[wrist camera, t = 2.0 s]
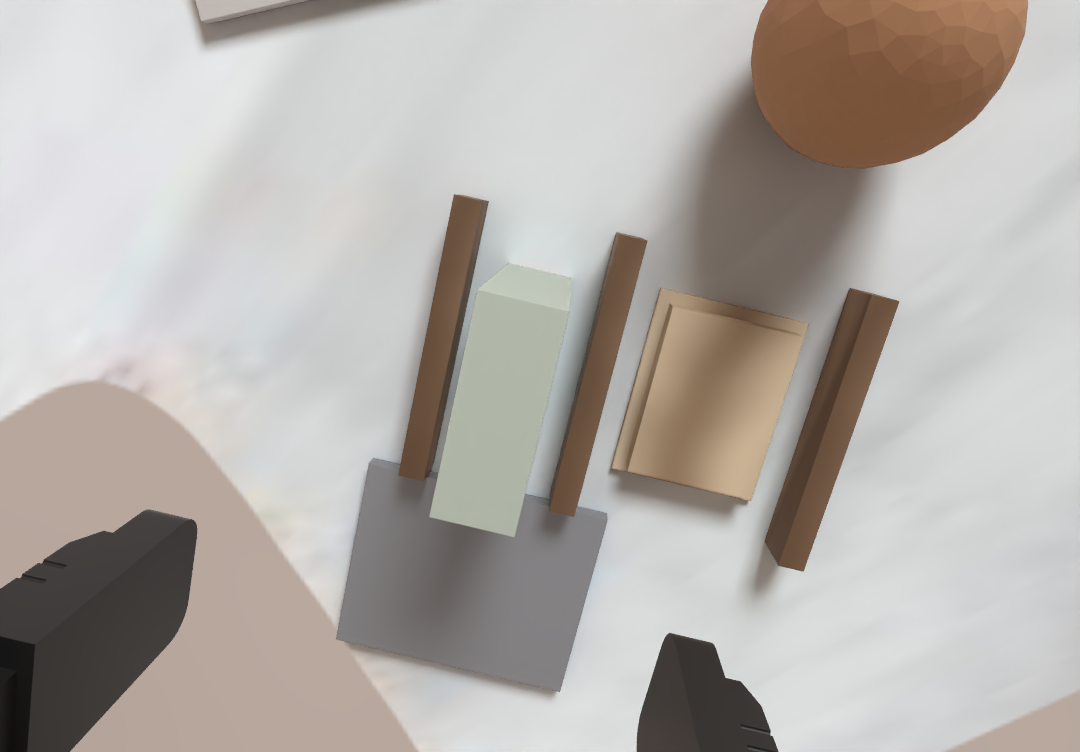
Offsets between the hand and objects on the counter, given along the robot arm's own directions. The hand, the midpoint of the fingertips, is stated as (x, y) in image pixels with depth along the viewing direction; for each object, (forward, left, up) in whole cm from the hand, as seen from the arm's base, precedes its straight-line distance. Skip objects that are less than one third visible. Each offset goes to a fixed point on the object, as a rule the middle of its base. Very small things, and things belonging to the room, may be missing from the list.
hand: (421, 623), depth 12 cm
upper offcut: (-9, 0, -23) cm, 25 cm away
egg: (-10, -15, -23) cm, 29 cm away
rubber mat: (0, +12, -23) cm, 26 cm away
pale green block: (0, 0, -23) cm, 23 cm away
